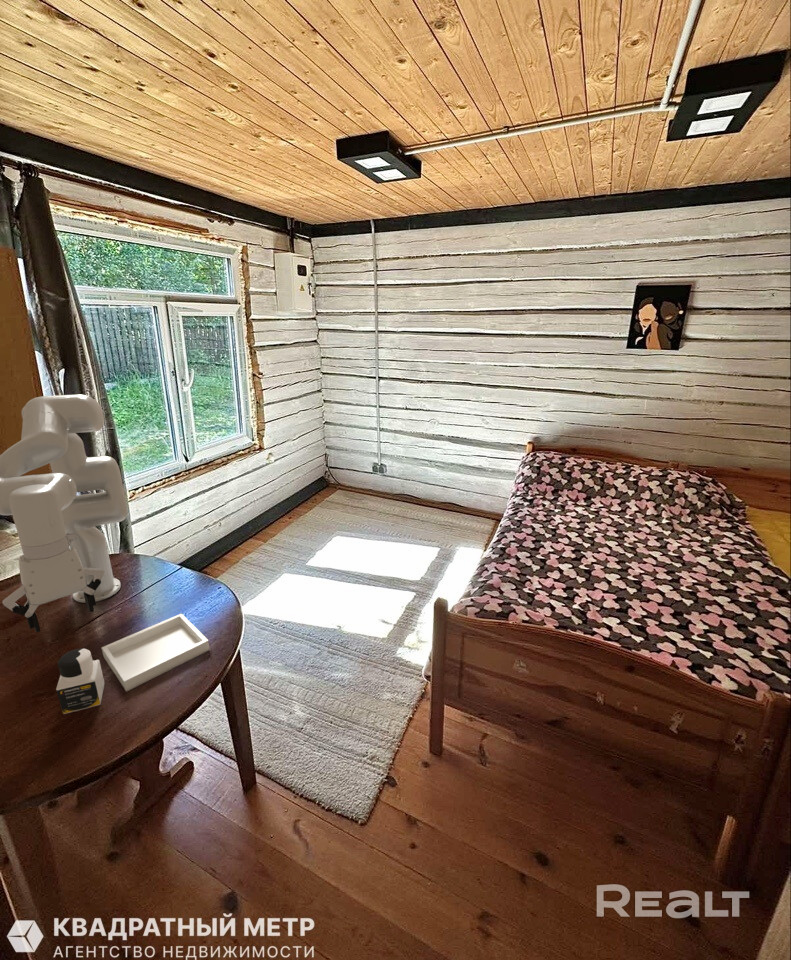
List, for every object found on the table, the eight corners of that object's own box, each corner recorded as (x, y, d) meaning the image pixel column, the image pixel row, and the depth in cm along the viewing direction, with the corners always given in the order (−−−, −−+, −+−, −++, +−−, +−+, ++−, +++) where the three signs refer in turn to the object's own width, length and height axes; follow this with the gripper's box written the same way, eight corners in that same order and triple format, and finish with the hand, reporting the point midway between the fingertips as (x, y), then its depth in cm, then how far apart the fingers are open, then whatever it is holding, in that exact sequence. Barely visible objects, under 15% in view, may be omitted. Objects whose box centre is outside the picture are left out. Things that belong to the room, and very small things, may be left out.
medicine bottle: (62, 715, 101) (50, 671, 97) (69, 691, 108) (57, 649, 103) (100, 705, 104) (90, 662, 100) (105, 683, 110) (95, 641, 106)
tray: (103, 657, 118) (101, 647, 117) (182, 622, 132) (181, 613, 131) (126, 691, 108) (124, 681, 107) (209, 649, 122) (208, 640, 121)
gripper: (89, 527, 102) (104, 595, 107) (-13, 554, 90) (9, 629, 95) (101, 538, 97) (115, 609, 102) (-7, 569, 85) (17, 646, 90)
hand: (64, 618), depth 99 cm, fingers open, 9 cm apart
